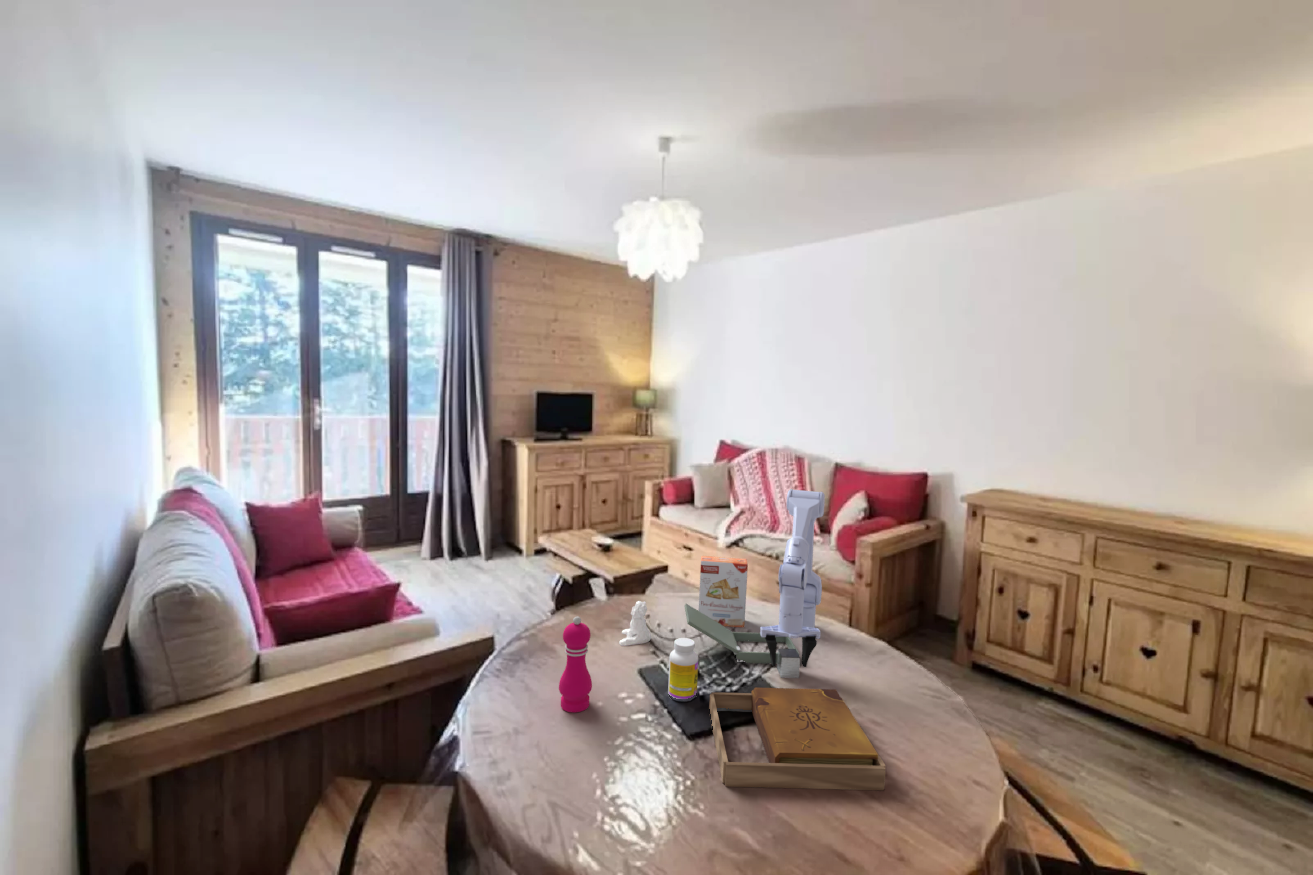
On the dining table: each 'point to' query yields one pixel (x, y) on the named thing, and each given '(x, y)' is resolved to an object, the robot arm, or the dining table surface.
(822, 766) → the desk tray
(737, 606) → the cracker box
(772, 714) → the diary
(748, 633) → the case
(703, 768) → the dining table surface
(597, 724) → the dining table surface
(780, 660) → the block
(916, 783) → the dining table surface
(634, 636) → the white creature statuette
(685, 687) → the supplement bottle
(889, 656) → the dining table surface
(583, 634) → the pepper mill
